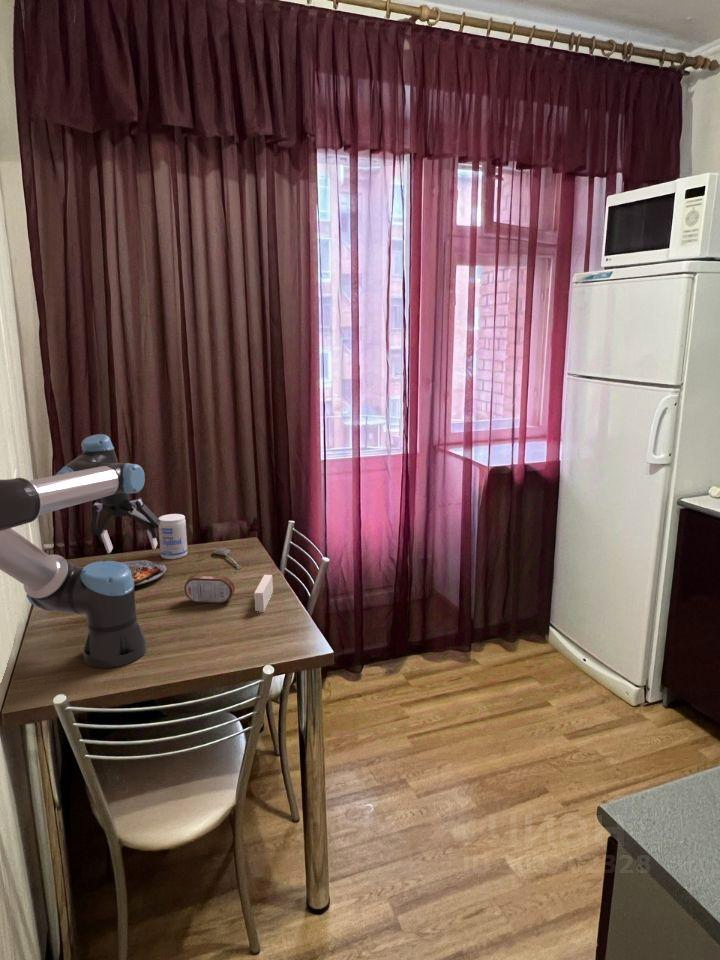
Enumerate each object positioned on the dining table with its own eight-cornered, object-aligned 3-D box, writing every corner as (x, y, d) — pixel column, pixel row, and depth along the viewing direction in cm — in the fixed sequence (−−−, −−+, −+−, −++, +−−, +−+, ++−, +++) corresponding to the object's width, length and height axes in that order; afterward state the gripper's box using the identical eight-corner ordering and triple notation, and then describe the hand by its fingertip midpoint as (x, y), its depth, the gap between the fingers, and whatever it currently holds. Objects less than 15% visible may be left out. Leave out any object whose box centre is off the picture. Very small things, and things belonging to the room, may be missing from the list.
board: (263, 612, 184) (262, 593, 183) (255, 612, 184) (254, 593, 183) (273, 592, 198) (272, 574, 196) (265, 592, 198) (264, 574, 197)
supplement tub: (163, 561, 226) (160, 522, 223) (158, 554, 234) (154, 515, 231) (190, 557, 231) (187, 518, 227) (184, 549, 239) (181, 512, 235)
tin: (235, 600, 193) (234, 574, 191) (232, 604, 190) (230, 578, 188) (187, 599, 194) (185, 573, 192) (184, 603, 191) (181, 577, 189)
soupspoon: (227, 552, 238) (210, 556, 235) (225, 543, 238) (208, 547, 234) (248, 568, 220) (229, 573, 217) (246, 559, 219) (228, 563, 216)
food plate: (181, 574, 214) (180, 564, 213) (122, 599, 195) (121, 588, 195) (134, 562, 228) (133, 553, 227) (75, 584, 209) (73, 574, 208)
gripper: (158, 476, 180) (177, 537, 191) (73, 484, 181) (96, 544, 192) (151, 490, 174) (171, 552, 184) (62, 498, 175) (87, 559, 185)
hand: (132, 548), depth 188 cm, fingers open, 13 cm apart
